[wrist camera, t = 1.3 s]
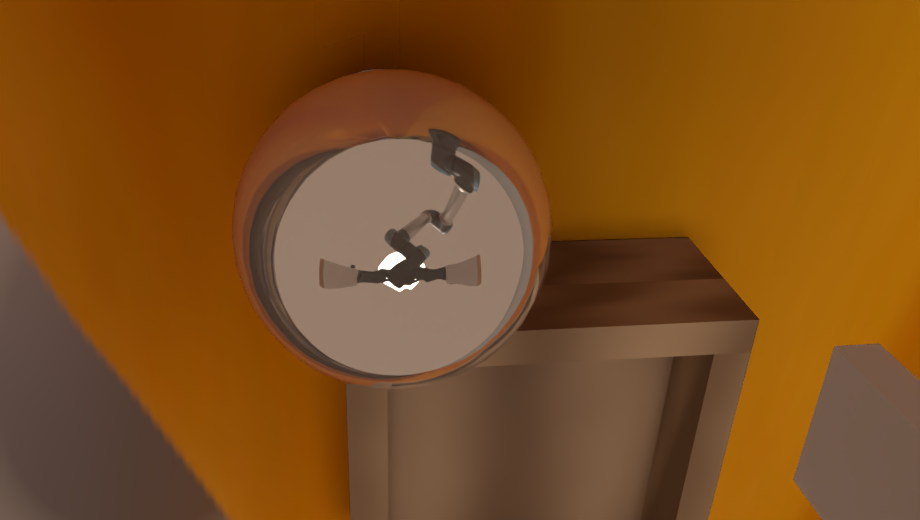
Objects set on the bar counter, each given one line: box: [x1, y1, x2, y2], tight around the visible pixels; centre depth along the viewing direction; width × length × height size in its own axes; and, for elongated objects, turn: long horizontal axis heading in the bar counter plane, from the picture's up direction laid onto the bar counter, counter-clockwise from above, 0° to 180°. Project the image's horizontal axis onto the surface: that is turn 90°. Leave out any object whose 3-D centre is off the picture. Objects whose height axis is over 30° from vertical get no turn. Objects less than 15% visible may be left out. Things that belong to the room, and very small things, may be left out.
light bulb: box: [232, 69, 553, 390], centre depth 20 cm, size 7×7×12 cm
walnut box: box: [346, 237, 759, 520], centre depth 29 cm, size 12×12×6 cm
